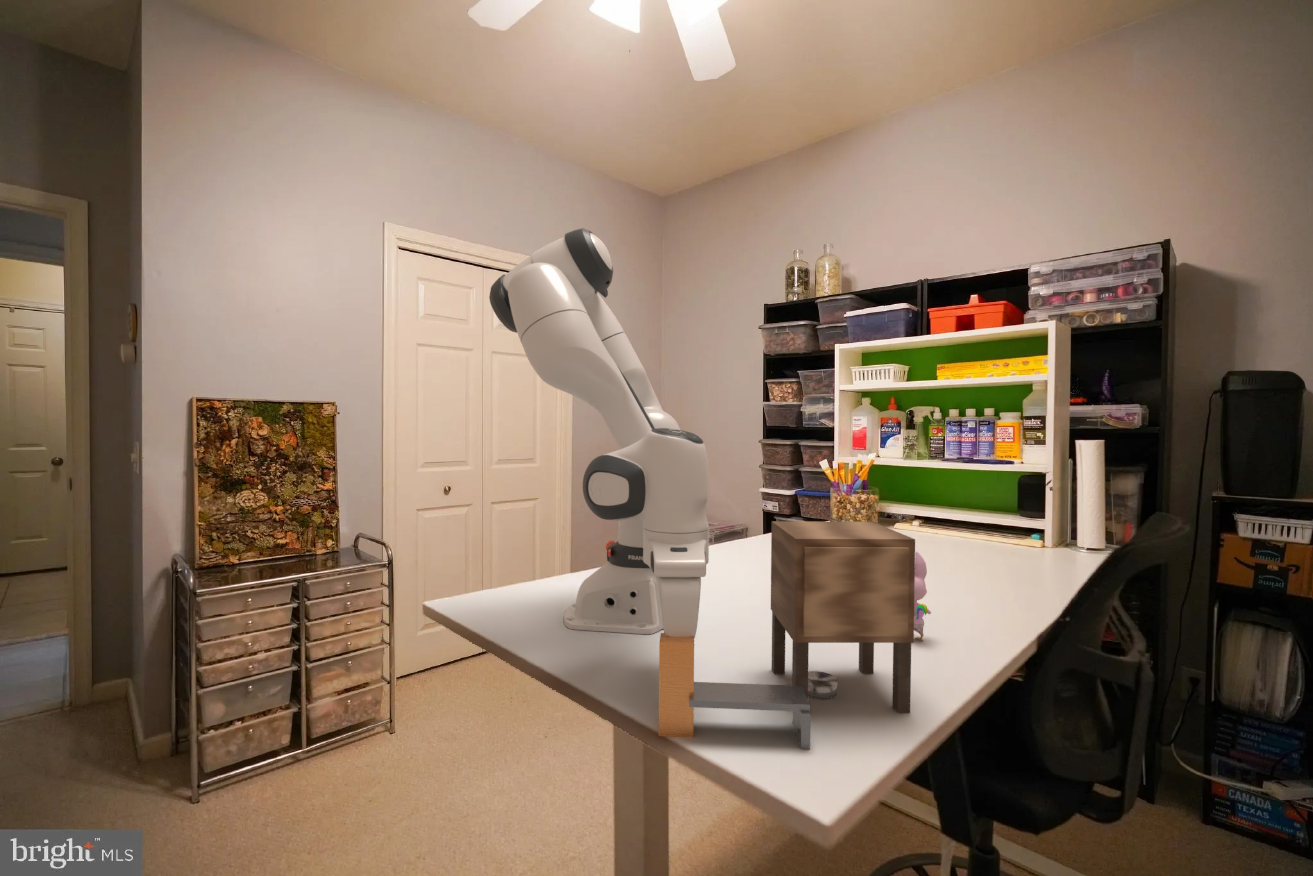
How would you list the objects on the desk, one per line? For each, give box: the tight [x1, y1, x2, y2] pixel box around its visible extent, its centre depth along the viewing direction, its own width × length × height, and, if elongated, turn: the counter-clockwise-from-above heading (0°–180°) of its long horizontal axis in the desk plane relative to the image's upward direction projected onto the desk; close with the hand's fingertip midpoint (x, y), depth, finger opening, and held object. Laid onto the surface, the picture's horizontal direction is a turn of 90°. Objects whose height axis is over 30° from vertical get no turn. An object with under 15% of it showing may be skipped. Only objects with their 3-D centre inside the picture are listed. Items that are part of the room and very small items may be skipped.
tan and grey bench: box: [658, 632, 812, 751], centre depth 71 cm, size 17×6×11 cm, turn 86°
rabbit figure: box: [914, 551, 932, 642], centre depth 101 cm, size 6×6×15 cm
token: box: [808, 670, 839, 701], centre depth 82 cm, size 5×5×2 cm
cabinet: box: [770, 520, 916, 714], centre depth 82 cm, size 15×15×22 cm
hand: (674, 651), depth 81 cm, fingers open, 3 cm apart
